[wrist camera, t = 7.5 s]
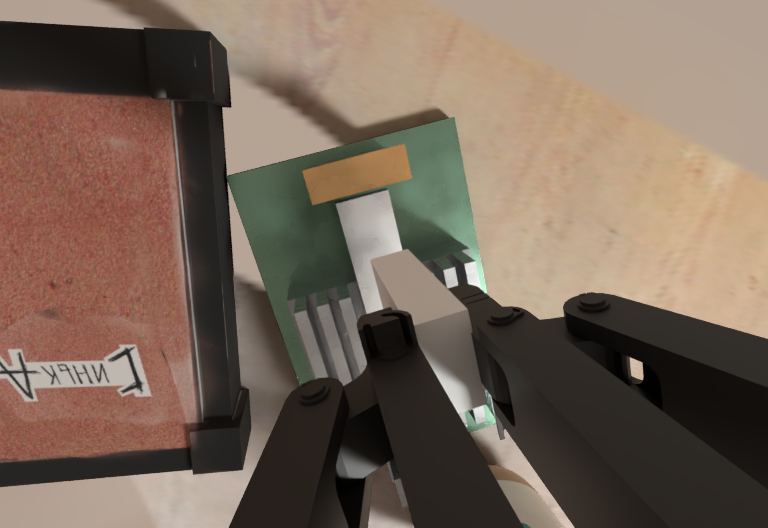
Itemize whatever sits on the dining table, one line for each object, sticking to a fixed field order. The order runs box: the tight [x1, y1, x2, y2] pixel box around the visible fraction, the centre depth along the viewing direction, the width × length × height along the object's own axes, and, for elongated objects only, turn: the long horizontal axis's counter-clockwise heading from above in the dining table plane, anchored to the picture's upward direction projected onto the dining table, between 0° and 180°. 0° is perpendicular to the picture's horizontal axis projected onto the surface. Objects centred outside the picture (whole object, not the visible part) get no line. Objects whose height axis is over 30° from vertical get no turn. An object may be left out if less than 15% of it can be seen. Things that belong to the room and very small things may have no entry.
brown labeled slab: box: [0, 21, 251, 487], centre depth 26 cm, size 26×18×5 cm
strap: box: [335, 188, 402, 314], centre depth 28 cm, size 3×20×1 cm, turn 14°
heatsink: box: [226, 117, 496, 508], centre depth 29 cm, size 15×24×7 cm, turn 14°
